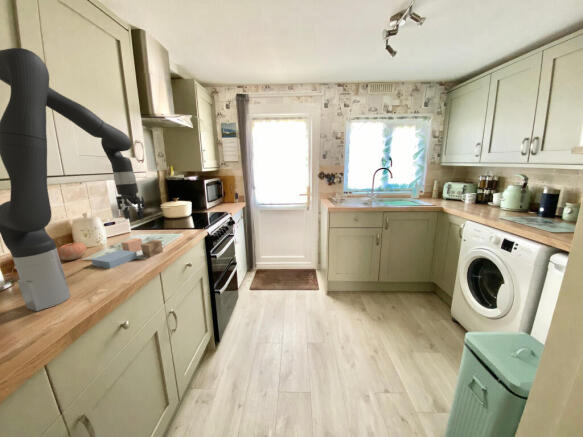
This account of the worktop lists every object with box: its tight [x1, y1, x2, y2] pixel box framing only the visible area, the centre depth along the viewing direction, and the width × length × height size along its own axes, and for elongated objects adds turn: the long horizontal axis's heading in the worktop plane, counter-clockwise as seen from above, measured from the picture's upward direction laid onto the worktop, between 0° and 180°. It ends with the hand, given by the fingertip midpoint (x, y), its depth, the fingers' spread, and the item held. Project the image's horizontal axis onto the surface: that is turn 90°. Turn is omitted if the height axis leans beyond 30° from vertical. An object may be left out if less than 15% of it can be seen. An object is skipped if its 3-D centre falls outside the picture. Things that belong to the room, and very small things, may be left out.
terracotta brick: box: [120, 237, 143, 253], centre depth 118 cm, size 7×5×6 cm
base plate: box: [91, 249, 138, 270], centre depth 105 cm, size 12×12×3 cm
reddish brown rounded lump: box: [57, 242, 87, 261], centre depth 111 cm, size 11×11×8 cm
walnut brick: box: [141, 239, 164, 258], centre depth 113 cm, size 7×5×6 cm
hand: (134, 219), depth 103 cm, fingers open, 8 cm apart
